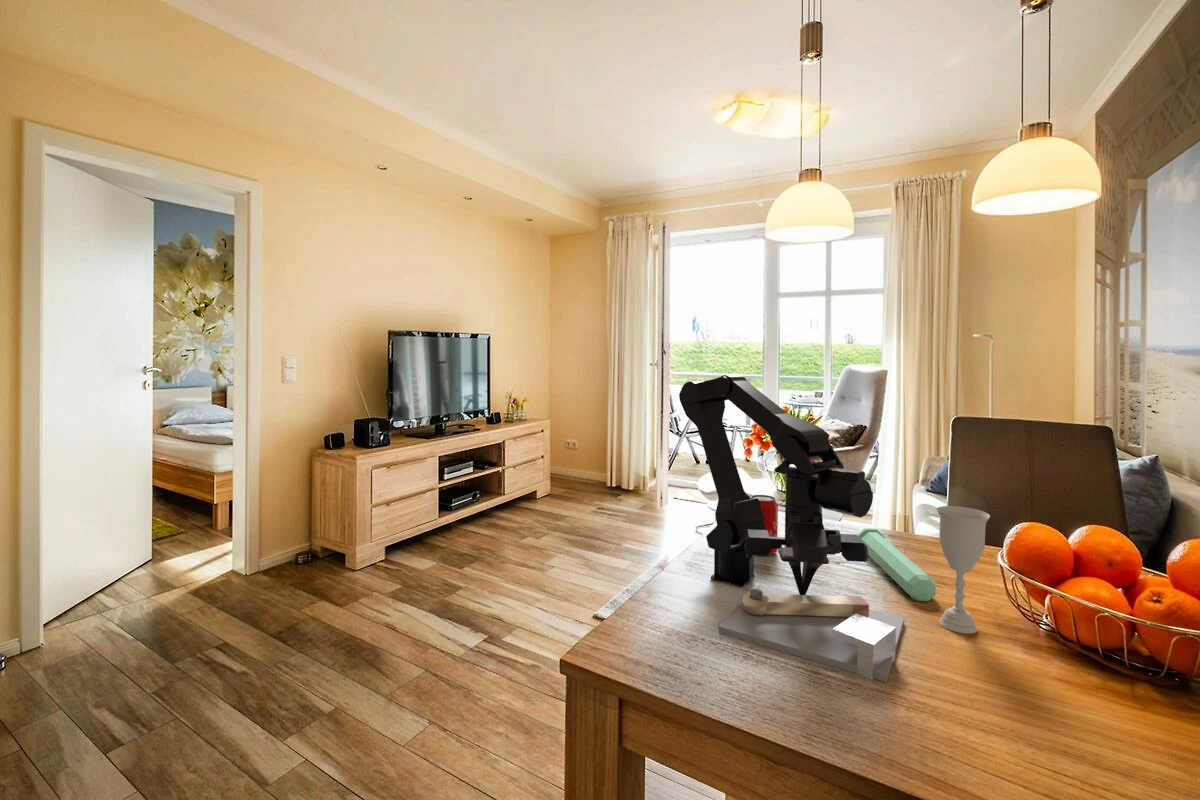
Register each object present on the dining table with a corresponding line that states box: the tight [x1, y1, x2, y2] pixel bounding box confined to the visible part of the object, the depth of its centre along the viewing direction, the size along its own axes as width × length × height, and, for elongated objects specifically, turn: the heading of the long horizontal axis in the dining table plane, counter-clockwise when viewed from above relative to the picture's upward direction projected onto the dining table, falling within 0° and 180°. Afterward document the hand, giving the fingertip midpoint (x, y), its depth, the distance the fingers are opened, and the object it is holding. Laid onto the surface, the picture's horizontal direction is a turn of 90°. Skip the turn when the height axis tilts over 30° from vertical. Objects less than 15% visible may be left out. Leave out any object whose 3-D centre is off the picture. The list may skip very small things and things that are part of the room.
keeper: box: [832, 614, 896, 681], centre depth 75 cm, size 6×7×5 cm
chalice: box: [936, 505, 991, 634], centre depth 85 cm, size 7×7×18 cm
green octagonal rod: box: [856, 527, 937, 602], centre depth 105 cm, size 6×6×25 cm
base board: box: [718, 583, 905, 683], centre depth 85 cm, size 23×19×1 cm
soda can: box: [750, 494, 779, 556], centre depth 118 cm, size 6×6×12 cm
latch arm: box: [742, 588, 870, 618], centre depth 88 cm, size 19×4×3 cm, turn 85°
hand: (802, 595), depth 91 cm, fingers closed
